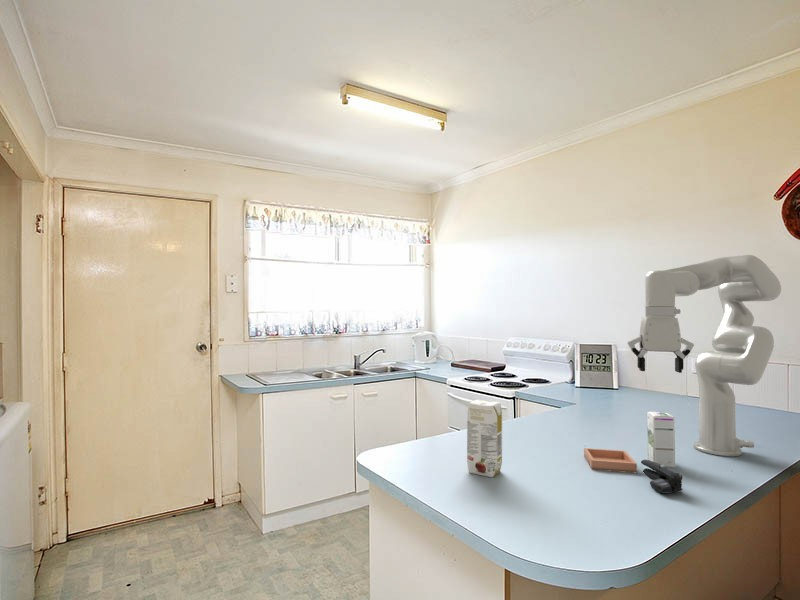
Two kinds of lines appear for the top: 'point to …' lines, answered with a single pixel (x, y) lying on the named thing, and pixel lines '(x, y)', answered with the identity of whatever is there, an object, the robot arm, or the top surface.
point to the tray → (609, 460)
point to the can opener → (663, 478)
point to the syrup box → (661, 438)
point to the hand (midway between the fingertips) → (660, 371)
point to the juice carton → (484, 438)
